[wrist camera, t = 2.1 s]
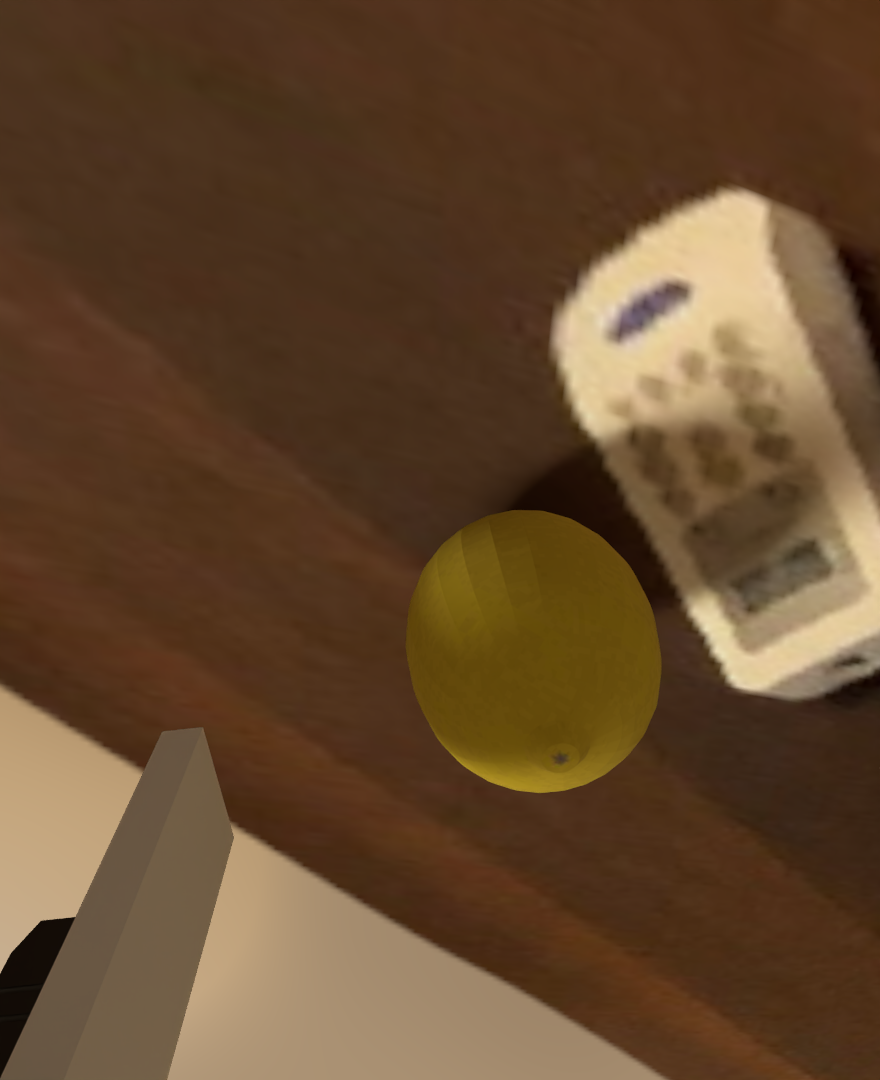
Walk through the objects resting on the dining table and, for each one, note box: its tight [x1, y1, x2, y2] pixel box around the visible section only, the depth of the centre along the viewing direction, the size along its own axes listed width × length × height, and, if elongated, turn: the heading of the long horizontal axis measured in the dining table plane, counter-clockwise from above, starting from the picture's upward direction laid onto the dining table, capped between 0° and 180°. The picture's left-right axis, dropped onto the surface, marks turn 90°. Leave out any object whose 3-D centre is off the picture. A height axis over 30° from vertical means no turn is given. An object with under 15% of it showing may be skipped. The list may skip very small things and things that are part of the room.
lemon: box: [406, 510, 661, 793], centre depth 17 cm, size 6×6×8 cm
